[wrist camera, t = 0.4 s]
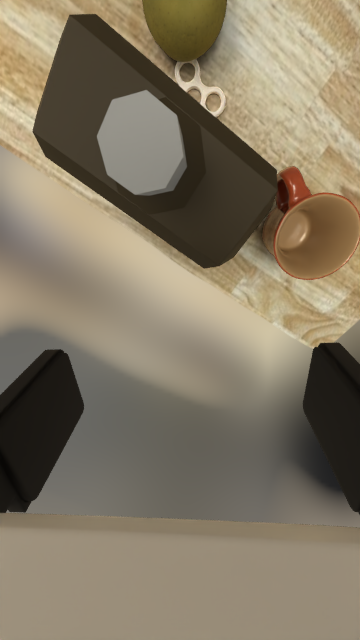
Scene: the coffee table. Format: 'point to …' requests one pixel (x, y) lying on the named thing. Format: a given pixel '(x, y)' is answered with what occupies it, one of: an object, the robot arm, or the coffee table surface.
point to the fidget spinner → (199, 86)
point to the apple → (184, 25)
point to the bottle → (150, 145)
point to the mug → (310, 228)
